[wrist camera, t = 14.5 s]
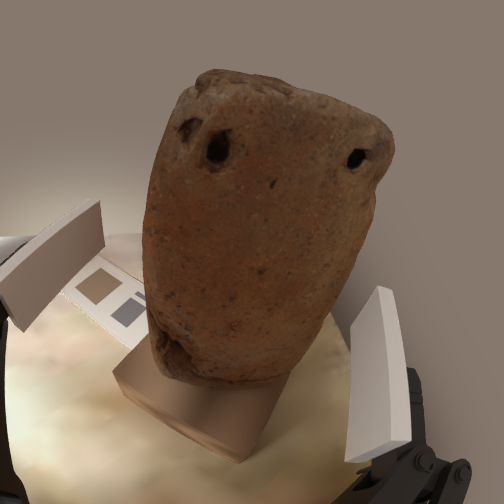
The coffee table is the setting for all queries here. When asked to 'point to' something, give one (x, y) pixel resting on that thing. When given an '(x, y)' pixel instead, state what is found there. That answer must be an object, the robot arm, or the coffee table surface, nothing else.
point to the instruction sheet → (110, 300)
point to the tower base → (198, 405)
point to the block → (254, 225)
